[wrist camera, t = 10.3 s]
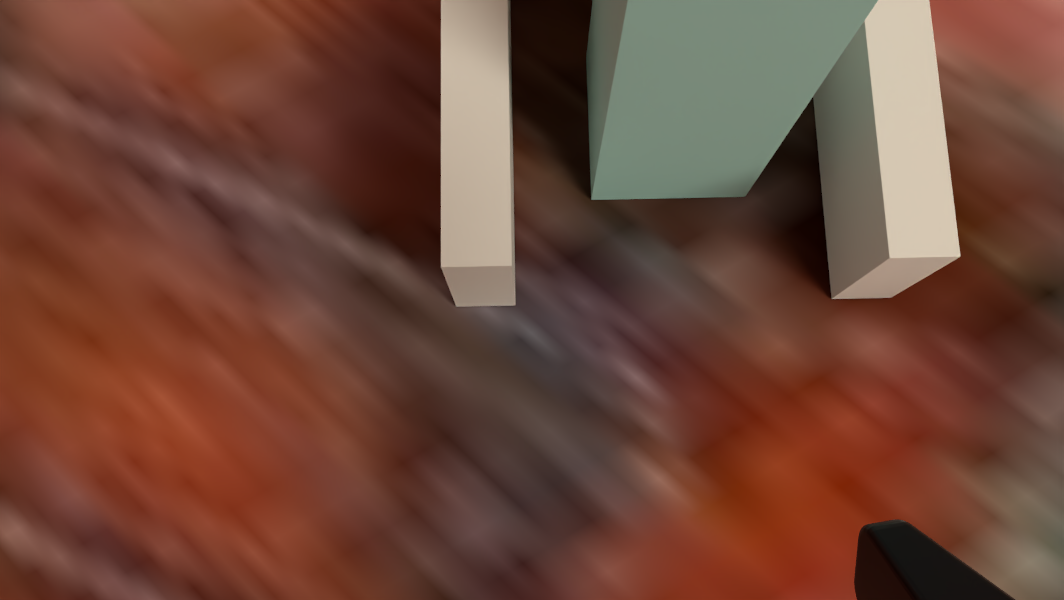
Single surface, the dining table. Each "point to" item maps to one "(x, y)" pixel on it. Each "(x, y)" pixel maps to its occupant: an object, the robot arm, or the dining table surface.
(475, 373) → the dining table surface
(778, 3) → the post
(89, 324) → the dining table surface
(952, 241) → the cradle
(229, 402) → the dining table surface
